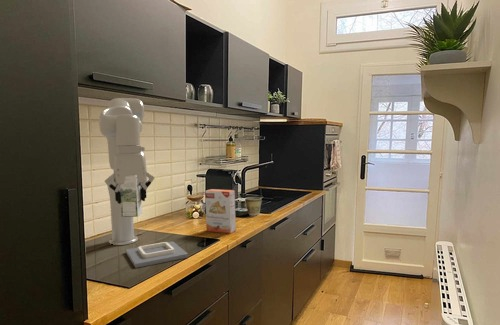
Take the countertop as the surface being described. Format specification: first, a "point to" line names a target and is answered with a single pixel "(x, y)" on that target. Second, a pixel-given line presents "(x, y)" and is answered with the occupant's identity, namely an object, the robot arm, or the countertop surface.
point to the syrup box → (131, 197)
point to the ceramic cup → (253, 205)
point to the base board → (155, 254)
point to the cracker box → (220, 210)
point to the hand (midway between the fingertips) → (131, 201)
